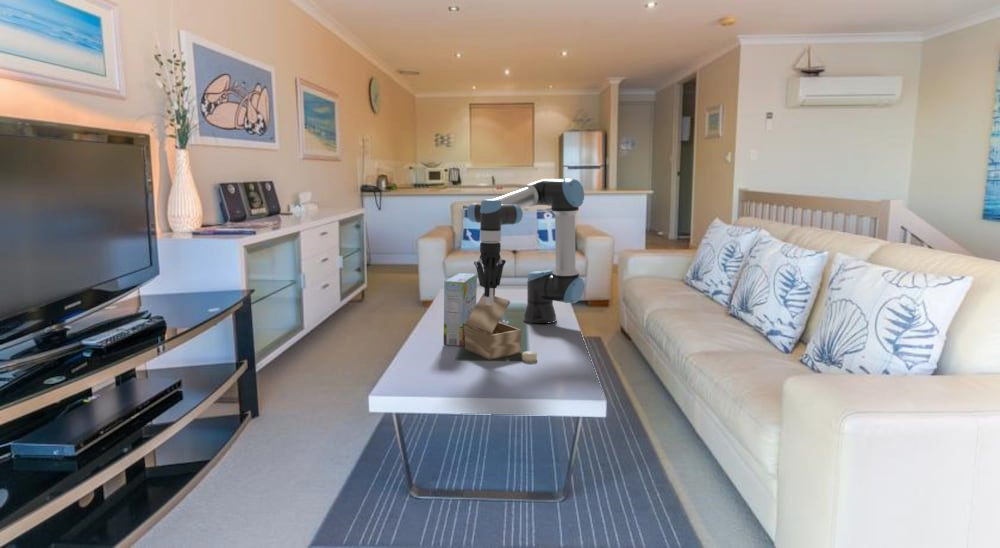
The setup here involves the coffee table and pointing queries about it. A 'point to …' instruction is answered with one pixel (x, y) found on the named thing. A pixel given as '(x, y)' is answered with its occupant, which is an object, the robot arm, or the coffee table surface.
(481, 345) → the tan open box
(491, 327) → the lid
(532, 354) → the cream domed disc
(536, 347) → the coffee table surface
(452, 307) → the snack box
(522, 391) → the coffee table surface
